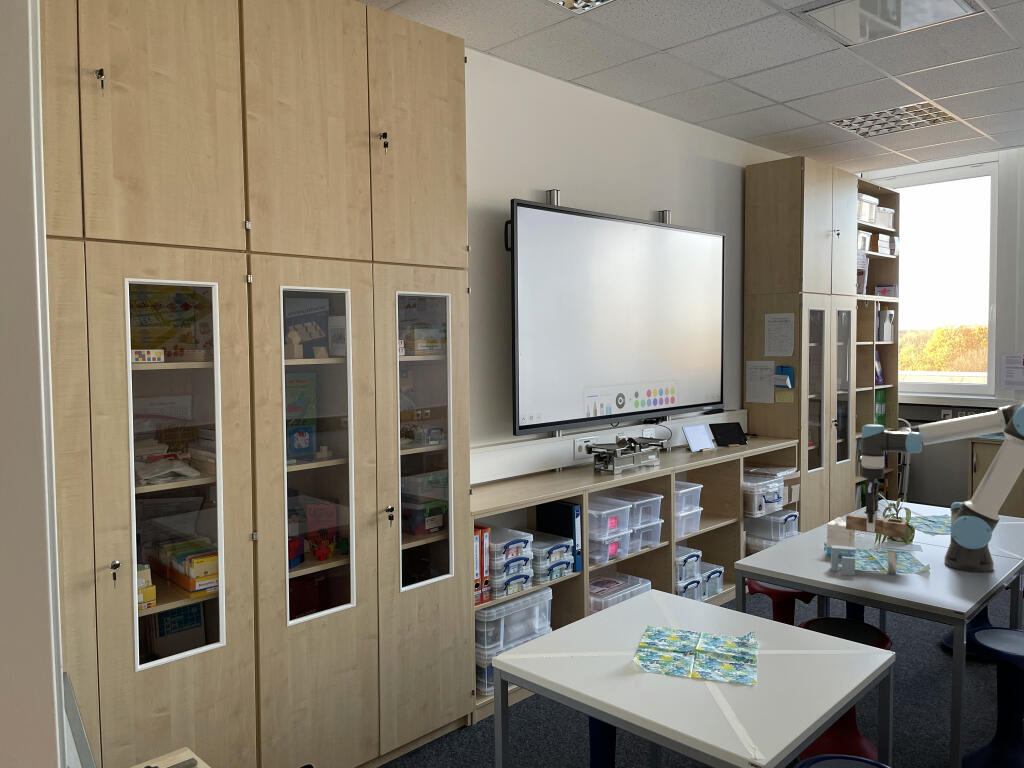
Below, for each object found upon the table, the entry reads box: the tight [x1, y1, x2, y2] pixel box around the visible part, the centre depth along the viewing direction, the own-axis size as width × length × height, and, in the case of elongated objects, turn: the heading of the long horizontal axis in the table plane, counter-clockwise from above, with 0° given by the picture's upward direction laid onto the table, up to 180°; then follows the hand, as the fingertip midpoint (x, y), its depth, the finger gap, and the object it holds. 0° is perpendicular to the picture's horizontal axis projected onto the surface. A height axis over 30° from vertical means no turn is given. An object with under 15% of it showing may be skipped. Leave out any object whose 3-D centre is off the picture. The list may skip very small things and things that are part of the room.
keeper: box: [830, 545, 856, 576], centre depth 262 cm, size 8×8×8 cm
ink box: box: [826, 516, 856, 557], centre depth 286 cm, size 9×8×13 cm
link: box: [845, 513, 908, 539], centre depth 270 cm, size 20×7×5 cm, turn 55°
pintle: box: [887, 549, 898, 576], centre depth 259 cm, size 3×3×8 cm
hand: (871, 530), depth 271 cm, fingers closed on link, 4 cm apart
